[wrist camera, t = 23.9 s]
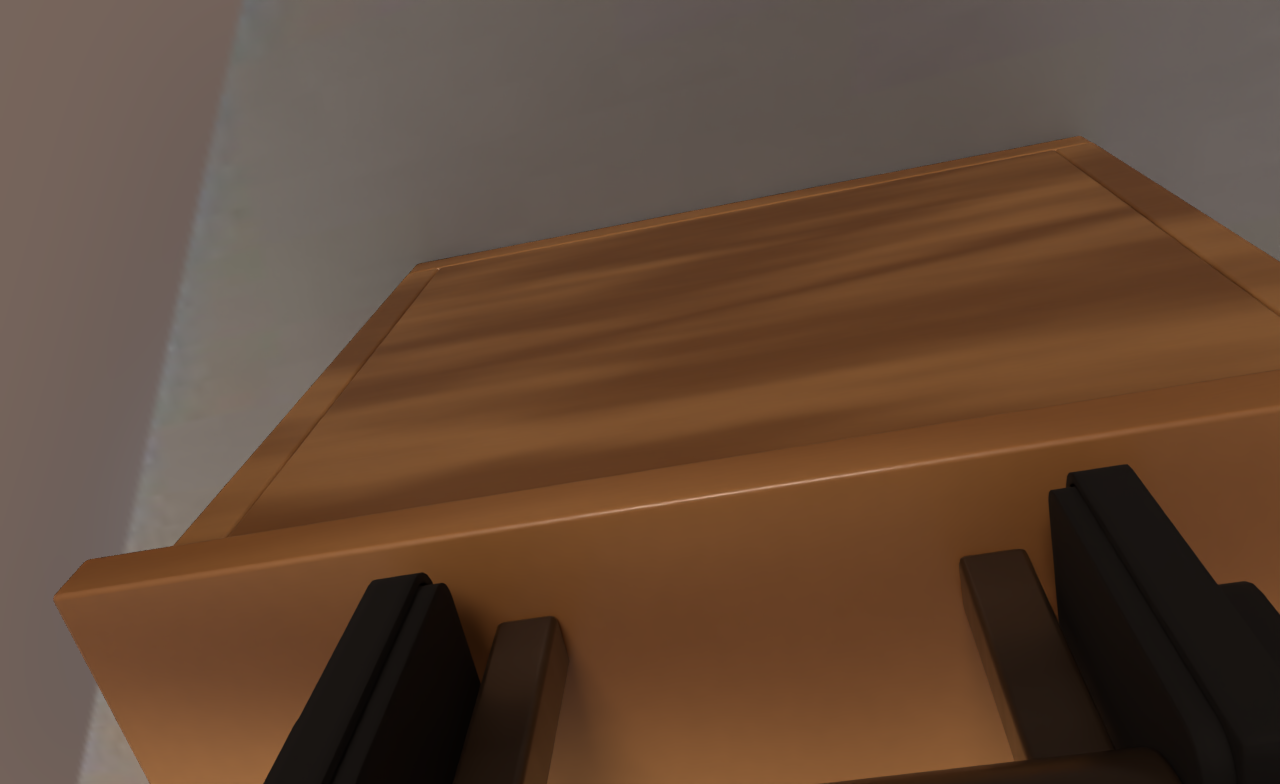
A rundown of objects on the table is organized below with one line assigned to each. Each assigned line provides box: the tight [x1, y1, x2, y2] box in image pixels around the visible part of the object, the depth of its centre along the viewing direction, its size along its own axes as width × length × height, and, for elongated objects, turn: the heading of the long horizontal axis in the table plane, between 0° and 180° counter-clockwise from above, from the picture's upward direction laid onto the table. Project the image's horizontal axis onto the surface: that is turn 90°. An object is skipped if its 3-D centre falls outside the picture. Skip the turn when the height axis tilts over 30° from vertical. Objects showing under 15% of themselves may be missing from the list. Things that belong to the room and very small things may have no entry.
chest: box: [173, 136, 1280, 546], centre depth 22 cm, size 15×16×14 cm
